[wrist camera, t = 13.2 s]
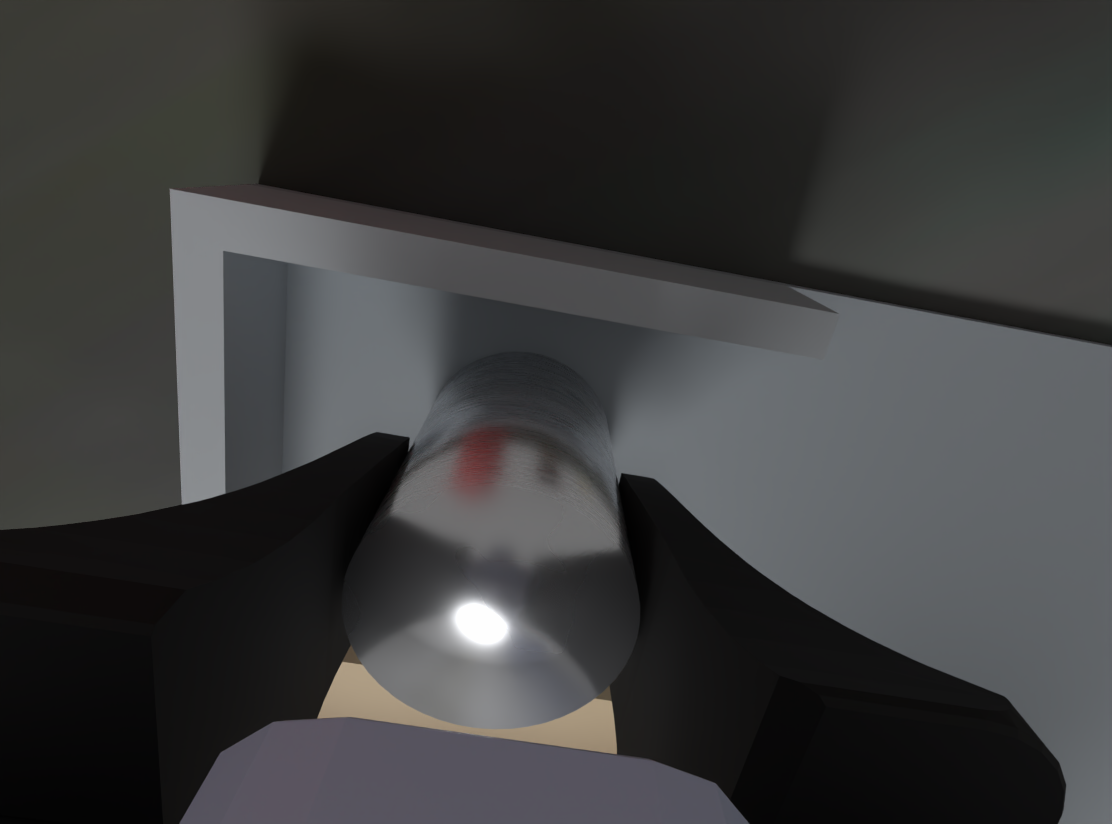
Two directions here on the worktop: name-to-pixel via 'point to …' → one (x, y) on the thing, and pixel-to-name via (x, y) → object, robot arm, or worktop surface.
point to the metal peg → (499, 554)
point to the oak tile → (371, 701)
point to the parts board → (699, 422)
